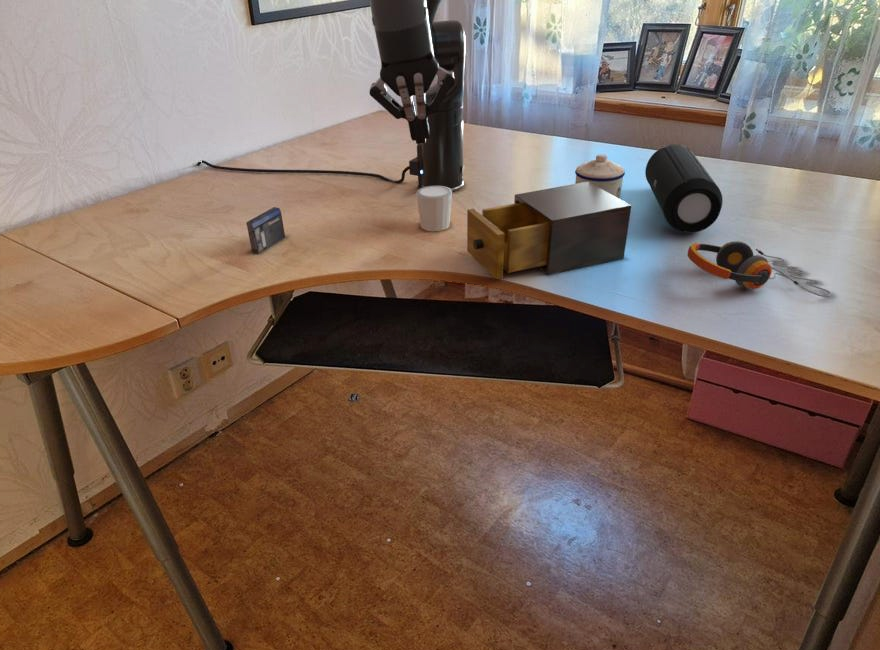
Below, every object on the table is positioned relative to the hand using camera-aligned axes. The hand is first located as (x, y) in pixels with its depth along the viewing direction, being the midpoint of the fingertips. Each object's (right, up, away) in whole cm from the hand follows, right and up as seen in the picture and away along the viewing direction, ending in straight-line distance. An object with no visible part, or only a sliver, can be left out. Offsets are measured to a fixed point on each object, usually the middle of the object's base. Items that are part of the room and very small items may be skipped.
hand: (421, 141), depth 100 cm
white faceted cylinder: (+4, -7, +29) cm, 30 cm away
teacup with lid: (+36, -4, +30) cm, 47 cm away
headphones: (+52, -21, +4) cm, 56 cm away
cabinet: (+26, -14, +15) cm, 34 cm away
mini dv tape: (-28, -12, +25) cm, 40 cm away
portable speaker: (+51, -4, +28) cm, 58 cm away
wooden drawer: (+16, -16, +13) cm, 26 cm away
